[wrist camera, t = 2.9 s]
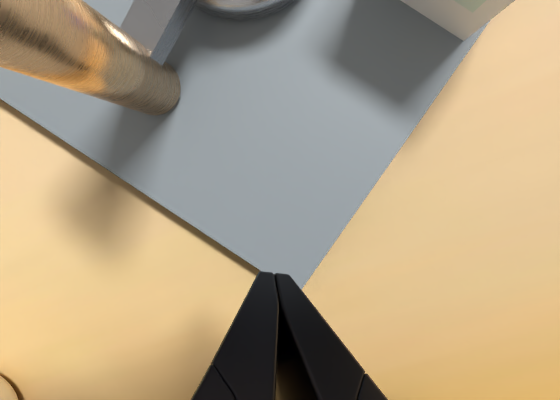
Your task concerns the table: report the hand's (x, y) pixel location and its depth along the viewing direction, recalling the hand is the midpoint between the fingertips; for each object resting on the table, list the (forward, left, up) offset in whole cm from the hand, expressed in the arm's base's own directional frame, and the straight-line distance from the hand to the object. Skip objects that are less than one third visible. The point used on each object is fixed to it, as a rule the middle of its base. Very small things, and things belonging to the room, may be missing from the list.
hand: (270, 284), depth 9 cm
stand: (+7, +9, -10) cm, 15 cm away
